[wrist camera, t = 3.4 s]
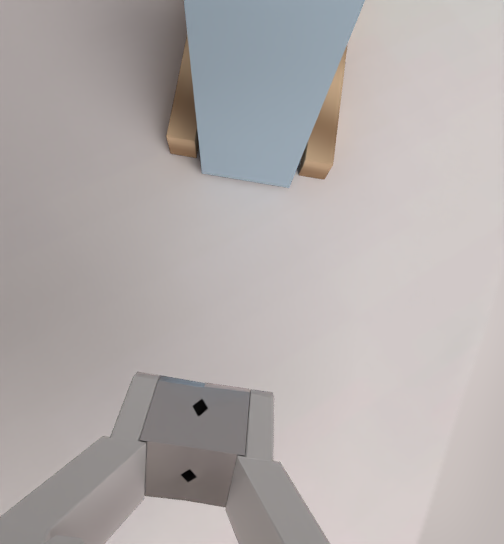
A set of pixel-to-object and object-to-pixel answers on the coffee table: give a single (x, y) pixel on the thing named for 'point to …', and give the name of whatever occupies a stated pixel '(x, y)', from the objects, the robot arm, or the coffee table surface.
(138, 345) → the coffee table surface
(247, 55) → the block
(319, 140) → the brown flat open frame
